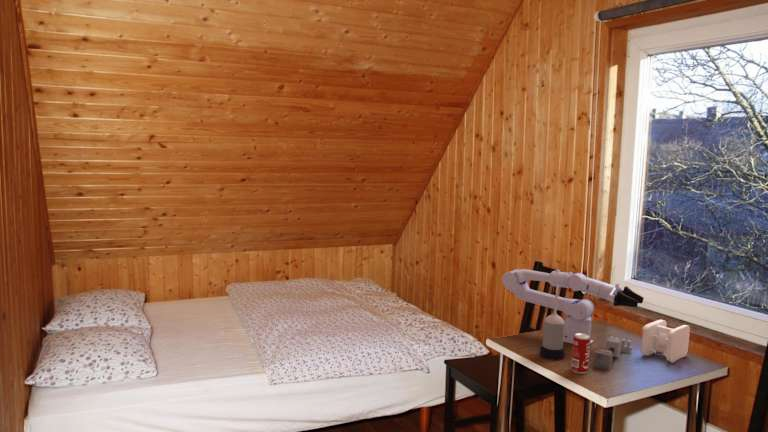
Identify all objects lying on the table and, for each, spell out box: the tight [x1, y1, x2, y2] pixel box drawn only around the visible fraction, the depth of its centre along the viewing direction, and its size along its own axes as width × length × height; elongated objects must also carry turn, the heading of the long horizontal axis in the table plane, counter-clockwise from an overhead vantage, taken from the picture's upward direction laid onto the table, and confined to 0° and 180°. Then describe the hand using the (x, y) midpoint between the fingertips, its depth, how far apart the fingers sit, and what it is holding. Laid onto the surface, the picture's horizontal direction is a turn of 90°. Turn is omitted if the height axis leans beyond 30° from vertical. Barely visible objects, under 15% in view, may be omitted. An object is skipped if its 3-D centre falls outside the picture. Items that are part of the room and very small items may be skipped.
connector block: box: [593, 349, 614, 371], centre depth 195 cm, size 3×5×5 cm, turn 54°
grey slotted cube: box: [605, 337, 622, 358], centre depth 205 cm, size 4×4×5 cm
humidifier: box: [539, 285, 566, 361], centre depth 203 cm, size 8×8×25 cm
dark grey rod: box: [600, 348, 614, 353], centre depth 204 cm, size 21×4×4 cm, turn 144°
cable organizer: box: [640, 319, 691, 364], centre depth 207 cm, size 15×11×12 cm
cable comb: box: [609, 335, 633, 354], centre depth 212 cm, size 2×8×4 cm, turn 55°
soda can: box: [570, 333, 591, 375], centre depth 190 cm, size 5×5×12 cm
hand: (640, 302), depth 206 cm, fingers open, 7 cm apart
